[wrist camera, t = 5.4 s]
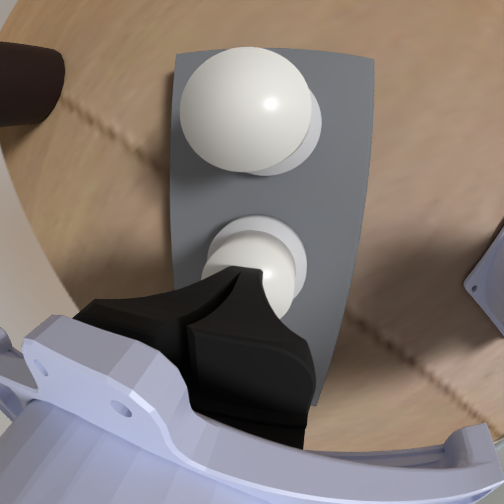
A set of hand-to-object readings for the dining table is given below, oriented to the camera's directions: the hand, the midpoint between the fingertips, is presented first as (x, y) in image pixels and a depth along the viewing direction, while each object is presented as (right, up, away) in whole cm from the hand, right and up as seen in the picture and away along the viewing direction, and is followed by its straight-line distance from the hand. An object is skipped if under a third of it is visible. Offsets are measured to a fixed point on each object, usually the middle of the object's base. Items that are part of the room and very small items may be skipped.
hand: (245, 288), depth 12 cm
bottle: (-17, +16, +4) cm, 24 cm away
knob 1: (0, +6, -3) cm, 7 cm away
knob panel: (+1, +2, +5) cm, 5 cm away
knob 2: (0, +1, +2) cm, 2 cm away
